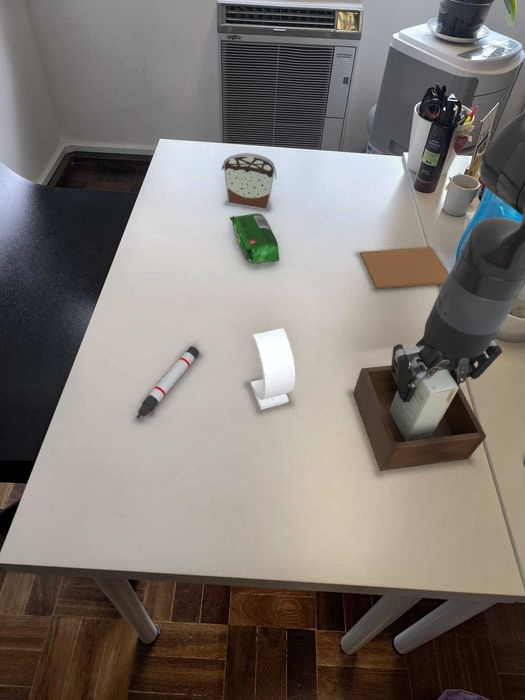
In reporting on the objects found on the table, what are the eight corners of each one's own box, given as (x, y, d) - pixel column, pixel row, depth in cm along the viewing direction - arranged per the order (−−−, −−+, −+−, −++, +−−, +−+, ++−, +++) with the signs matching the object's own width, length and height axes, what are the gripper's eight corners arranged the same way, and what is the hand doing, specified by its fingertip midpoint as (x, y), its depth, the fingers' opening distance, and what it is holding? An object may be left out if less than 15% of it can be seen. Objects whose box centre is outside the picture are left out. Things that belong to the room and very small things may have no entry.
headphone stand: (277, 378, 77) (283, 327, 68) (290, 407, 73) (299, 358, 64) (250, 384, 76) (253, 334, 66) (262, 415, 72) (267, 366, 63)
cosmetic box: (431, 438, 70) (461, 390, 61) (405, 443, 69) (431, 396, 60) (412, 403, 74) (438, 353, 65) (387, 408, 73) (409, 358, 64)
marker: (189, 352, 79) (189, 344, 78) (199, 356, 79) (199, 349, 77) (132, 419, 70) (130, 412, 69) (143, 425, 70) (141, 417, 68)
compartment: (431, 384, 77) (445, 359, 72) (468, 459, 69) (486, 436, 64) (352, 393, 75) (361, 368, 70) (379, 471, 67) (391, 448, 62)
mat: (430, 249, 101) (431, 247, 101) (451, 283, 94) (452, 281, 94) (359, 254, 99) (360, 251, 99) (376, 289, 92) (376, 286, 92)
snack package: (259, 223, 105) (260, 203, 101) (281, 267, 95) (283, 246, 91) (228, 228, 103) (228, 207, 99) (248, 273, 93) (248, 252, 89)
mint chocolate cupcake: (279, 197, 112) (282, 157, 104) (273, 211, 108) (276, 170, 100) (229, 188, 113) (228, 148, 106) (222, 202, 109) (221, 161, 102)
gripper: (422, 338, 50) (383, 423, 63) (545, 327, 52) (482, 411, 65) (398, 291, 55) (366, 378, 67) (511, 282, 57) (459, 369, 69)
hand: (423, 394), depth 66 cm, fingers open, 5 cm apart
